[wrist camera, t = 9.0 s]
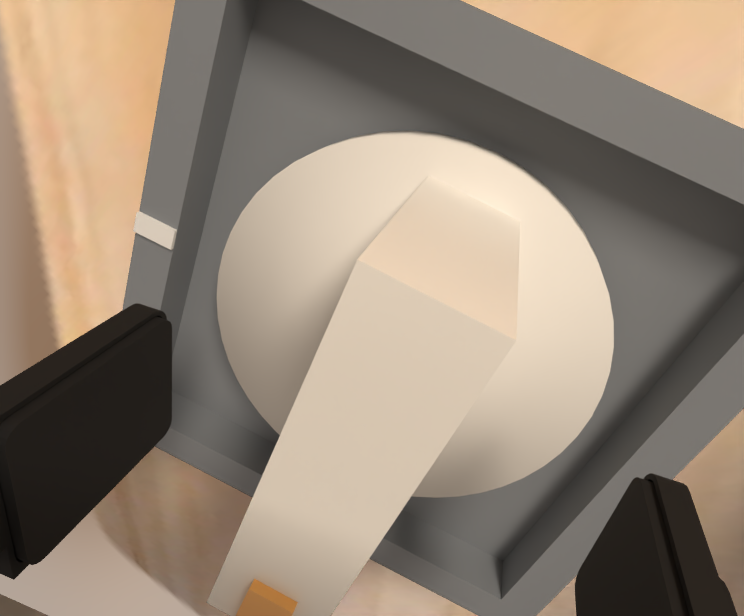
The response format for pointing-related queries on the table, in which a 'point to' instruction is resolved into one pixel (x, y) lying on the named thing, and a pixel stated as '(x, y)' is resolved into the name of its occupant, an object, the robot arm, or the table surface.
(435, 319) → the dial
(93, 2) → the table surface
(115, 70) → the table surface
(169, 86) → the dial plate
